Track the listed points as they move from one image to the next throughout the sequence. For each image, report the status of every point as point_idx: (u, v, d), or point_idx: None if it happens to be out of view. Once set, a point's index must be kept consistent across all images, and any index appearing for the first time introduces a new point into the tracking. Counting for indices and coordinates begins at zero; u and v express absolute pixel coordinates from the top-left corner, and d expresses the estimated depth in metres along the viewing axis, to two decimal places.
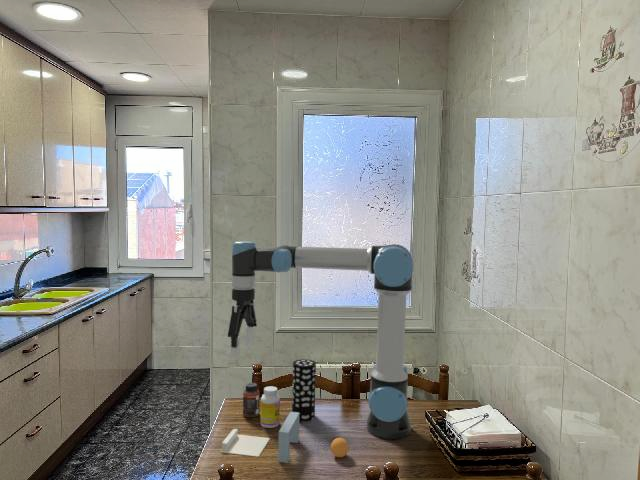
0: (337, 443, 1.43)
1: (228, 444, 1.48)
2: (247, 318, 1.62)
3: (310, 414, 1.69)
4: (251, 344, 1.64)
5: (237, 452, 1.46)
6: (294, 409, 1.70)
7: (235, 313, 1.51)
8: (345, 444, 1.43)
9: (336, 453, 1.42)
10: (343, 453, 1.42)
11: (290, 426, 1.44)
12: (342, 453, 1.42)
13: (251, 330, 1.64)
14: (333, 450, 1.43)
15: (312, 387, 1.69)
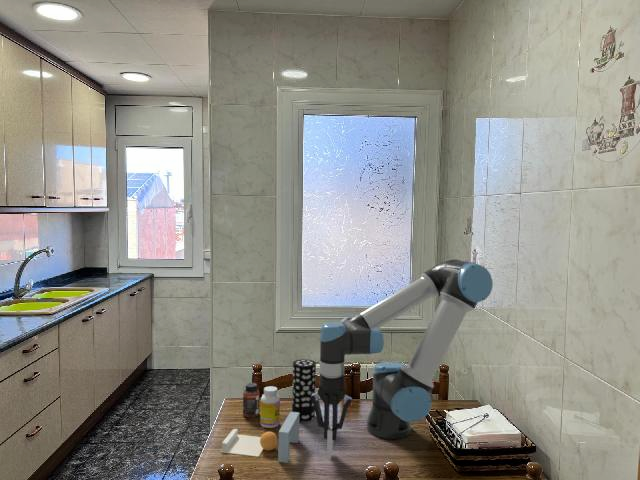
0: None
1: (228, 444, 1.48)
2: None
3: (310, 414, 1.69)
4: None
5: (237, 452, 1.46)
6: (294, 409, 1.70)
7: None
8: (262, 436, 1.47)
9: (268, 447, 1.45)
10: (268, 440, 1.46)
11: (290, 426, 1.44)
12: (268, 441, 1.45)
13: None
14: (267, 449, 1.46)
15: (312, 387, 1.69)
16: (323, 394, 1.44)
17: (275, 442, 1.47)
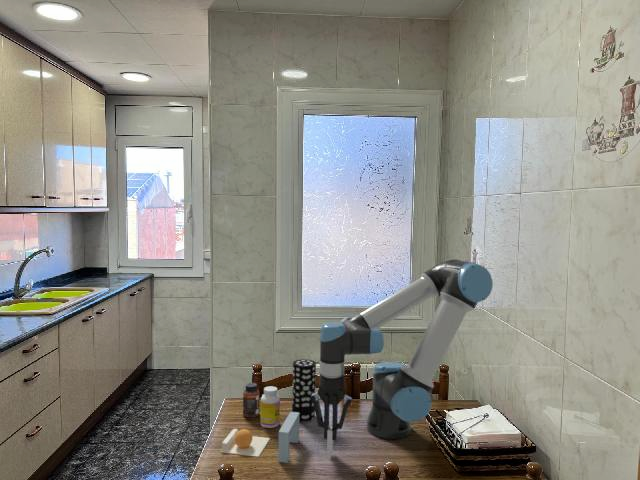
0: (248, 440, 1.47)
1: (228, 444, 1.48)
2: None
3: (310, 414, 1.69)
4: None
5: (237, 452, 1.46)
6: (294, 409, 1.70)
7: None
8: (247, 446, 1.48)
9: (239, 439, 1.47)
10: (239, 445, 1.47)
11: (290, 426, 1.44)
12: (239, 445, 1.47)
13: None
14: (242, 436, 1.47)
15: (312, 387, 1.69)
16: (323, 394, 1.44)
17: (235, 439, 1.48)
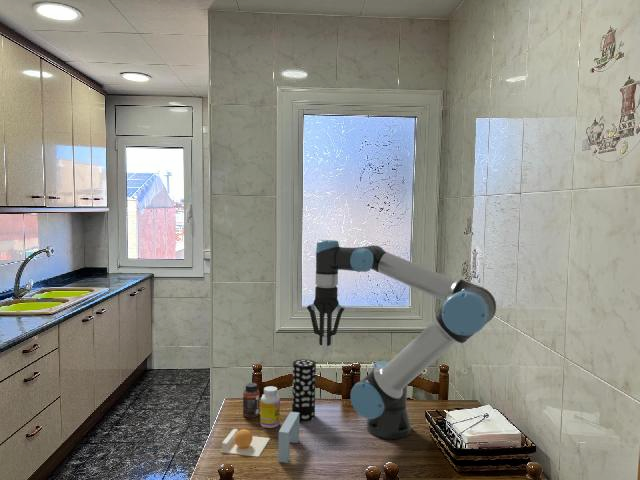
0: (248, 440, 1.47)
1: (228, 444, 1.48)
2: None
3: (310, 414, 1.69)
4: None
5: (237, 452, 1.46)
6: (294, 409, 1.70)
7: None
8: (247, 446, 1.48)
9: (239, 439, 1.47)
10: (239, 445, 1.47)
11: (290, 426, 1.44)
12: (239, 445, 1.47)
13: None
14: (242, 436, 1.47)
15: (312, 387, 1.69)
16: (318, 304, 1.59)
17: (235, 439, 1.48)
